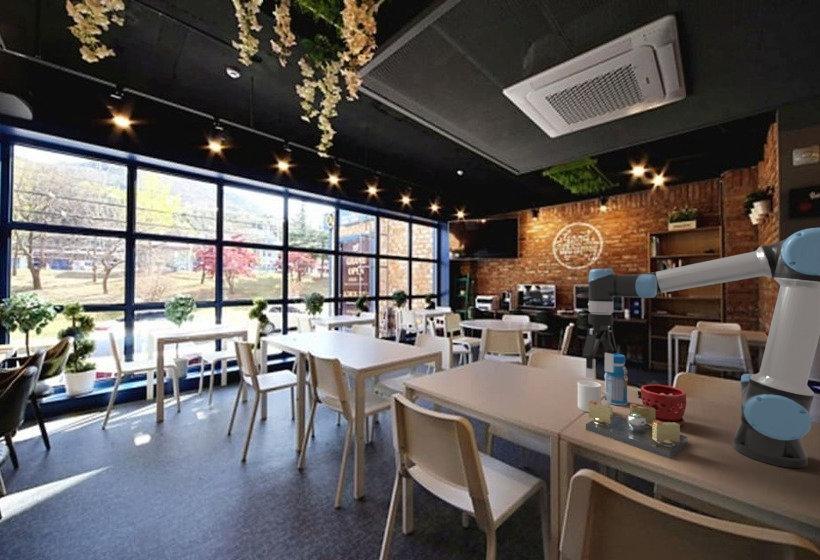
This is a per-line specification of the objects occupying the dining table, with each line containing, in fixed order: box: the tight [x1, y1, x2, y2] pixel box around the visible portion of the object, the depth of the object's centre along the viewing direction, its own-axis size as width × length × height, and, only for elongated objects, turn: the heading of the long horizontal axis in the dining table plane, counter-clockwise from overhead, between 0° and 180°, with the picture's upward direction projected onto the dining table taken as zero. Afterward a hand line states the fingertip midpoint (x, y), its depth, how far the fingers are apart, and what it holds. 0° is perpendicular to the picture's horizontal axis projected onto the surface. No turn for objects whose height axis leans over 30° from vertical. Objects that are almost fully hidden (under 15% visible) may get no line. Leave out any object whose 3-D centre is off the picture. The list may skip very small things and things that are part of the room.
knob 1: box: [588, 401, 613, 424], centre depth 119 cm, size 7×3×6 cm, turn 37°
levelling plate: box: [585, 413, 689, 459], centre depth 113 cm, size 24×17×7 cm
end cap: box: [637, 379, 661, 400], centre depth 151 cm, size 10×7×7 cm
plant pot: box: [640, 384, 687, 427], centre depth 125 cm, size 13×13×12 cm
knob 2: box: [651, 420, 681, 445], centre depth 104 cm, size 7×3×6 cm, turn 91°
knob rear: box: [629, 403, 655, 426], centre depth 117 cm, size 7×3×6 cm, turn 72°
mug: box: [577, 380, 612, 413], centre depth 135 cm, size 12×8×10 cm
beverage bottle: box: [603, 353, 629, 407], centre depth 145 cm, size 8×8×20 cm
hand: (600, 374), depth 119 cm, fingers open, 13 cm apart
